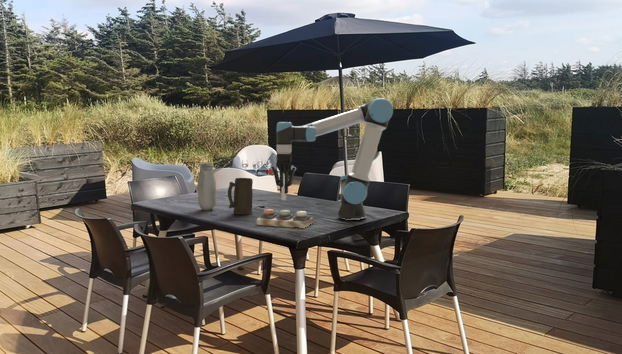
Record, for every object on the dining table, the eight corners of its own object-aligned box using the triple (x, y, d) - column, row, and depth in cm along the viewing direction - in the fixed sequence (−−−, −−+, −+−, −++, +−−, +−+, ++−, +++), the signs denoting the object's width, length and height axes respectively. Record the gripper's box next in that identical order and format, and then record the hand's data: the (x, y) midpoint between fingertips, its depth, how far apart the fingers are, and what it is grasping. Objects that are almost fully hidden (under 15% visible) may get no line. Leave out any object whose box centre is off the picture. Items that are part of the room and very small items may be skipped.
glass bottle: (212, 211, 296) (210, 163, 293) (195, 211, 298) (194, 163, 295) (218, 208, 306) (217, 161, 302) (202, 208, 308) (201, 161, 304)
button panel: (313, 223, 262) (313, 214, 261) (304, 228, 250) (304, 219, 250) (266, 220, 270) (266, 211, 270) (256, 224, 259) (256, 216, 259)
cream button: (308, 215, 258) (307, 211, 258) (304, 217, 254) (304, 213, 253) (298, 214, 260) (298, 210, 260) (295, 216, 255) (295, 212, 255)
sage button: (291, 214, 261) (291, 210, 261) (287, 216, 257) (287, 212, 256) (282, 213, 263) (282, 209, 263) (278, 215, 258) (278, 211, 258)
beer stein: (244, 211, 297) (243, 176, 295) (257, 213, 290) (256, 178, 288) (223, 215, 285) (222, 179, 283) (237, 217, 278) (236, 180, 276)
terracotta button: (275, 213, 264) (275, 209, 264) (271, 214, 260) (271, 211, 259) (266, 212, 266) (266, 208, 266) (262, 214, 261) (262, 210, 261)
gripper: (299, 153, 257) (298, 199, 260) (275, 152, 262) (275, 197, 265) (293, 154, 250) (293, 201, 253) (269, 153, 255) (269, 200, 258)
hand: (283, 199), depth 259 cm, fingers closed
